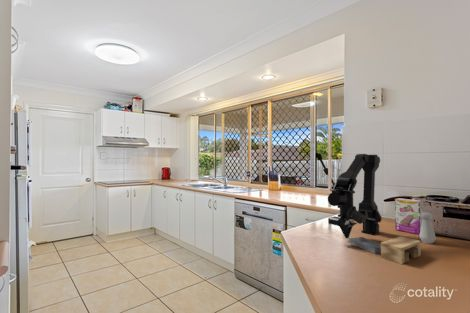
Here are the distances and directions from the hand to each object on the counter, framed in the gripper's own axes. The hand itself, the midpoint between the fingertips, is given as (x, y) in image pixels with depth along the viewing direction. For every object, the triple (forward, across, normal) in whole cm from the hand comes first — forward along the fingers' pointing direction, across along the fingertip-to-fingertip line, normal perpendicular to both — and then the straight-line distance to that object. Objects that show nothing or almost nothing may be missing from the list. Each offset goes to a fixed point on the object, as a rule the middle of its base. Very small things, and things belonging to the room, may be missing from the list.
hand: (346, 238), depth 111 cm
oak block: (+1, 0, -22) cm, 22 cm away
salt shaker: (+1, +28, -20) cm, 35 cm away
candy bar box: (+2, +40, -8) cm, 41 cm away
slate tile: (+2, 0, -10) cm, 10 cm away
